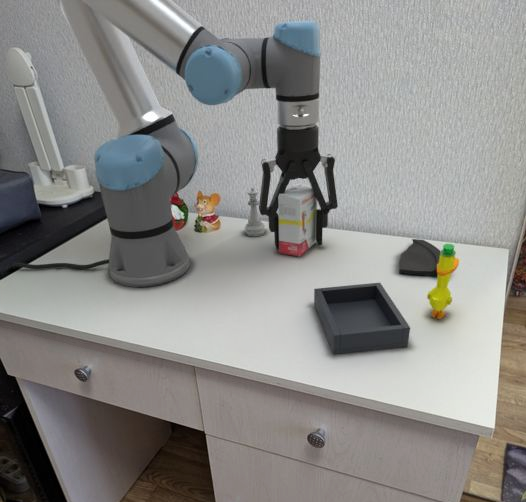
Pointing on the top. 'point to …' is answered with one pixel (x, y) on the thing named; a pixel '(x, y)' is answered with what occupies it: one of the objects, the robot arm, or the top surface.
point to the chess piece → (254, 217)
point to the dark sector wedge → (420, 259)
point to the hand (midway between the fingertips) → (298, 244)
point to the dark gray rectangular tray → (360, 318)
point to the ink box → (297, 219)
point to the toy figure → (443, 281)
